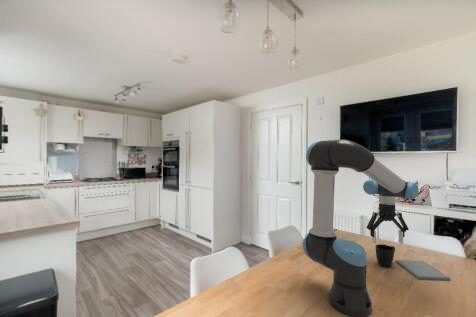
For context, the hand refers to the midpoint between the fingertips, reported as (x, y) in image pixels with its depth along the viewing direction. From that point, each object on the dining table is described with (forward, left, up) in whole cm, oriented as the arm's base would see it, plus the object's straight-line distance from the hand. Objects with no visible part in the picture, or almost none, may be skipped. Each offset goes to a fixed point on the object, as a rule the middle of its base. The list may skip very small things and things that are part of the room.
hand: (387, 242), depth 124 cm
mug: (0, 0, -12) cm, 12 cm away
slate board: (-6, -13, -11) cm, 18 cm away
